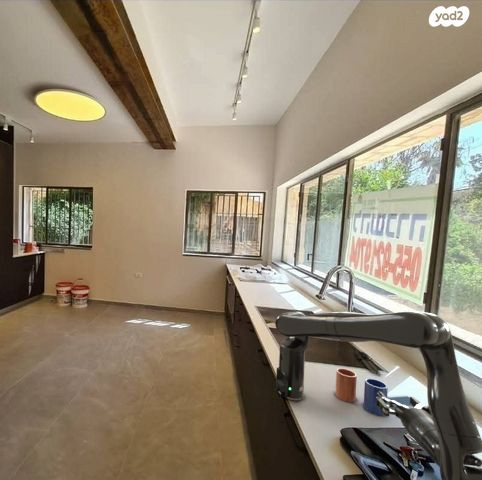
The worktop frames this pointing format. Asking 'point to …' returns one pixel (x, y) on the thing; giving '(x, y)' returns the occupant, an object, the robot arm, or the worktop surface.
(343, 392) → the terracotta cup
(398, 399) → the blue mat
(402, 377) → the worktop surface
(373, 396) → the blue cup
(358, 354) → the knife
